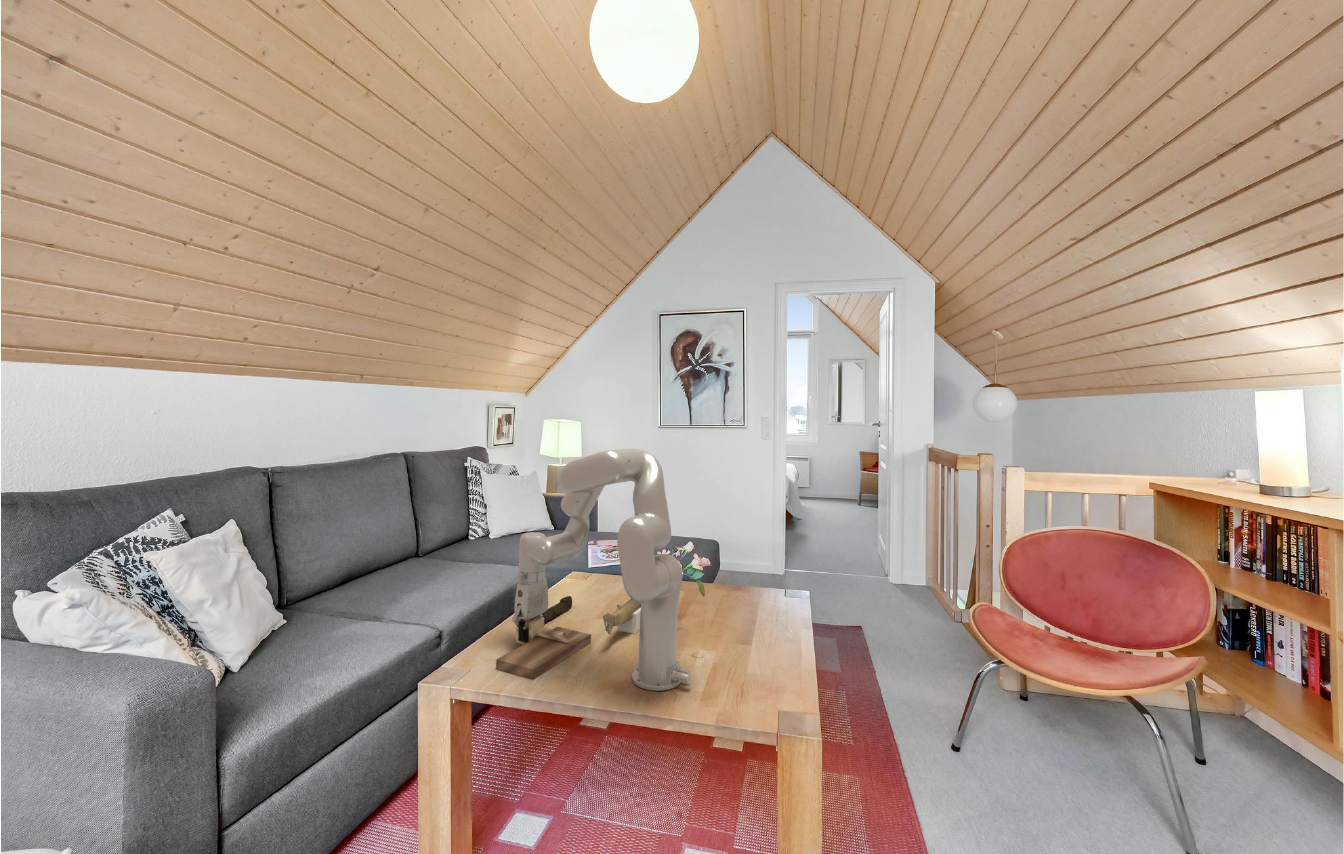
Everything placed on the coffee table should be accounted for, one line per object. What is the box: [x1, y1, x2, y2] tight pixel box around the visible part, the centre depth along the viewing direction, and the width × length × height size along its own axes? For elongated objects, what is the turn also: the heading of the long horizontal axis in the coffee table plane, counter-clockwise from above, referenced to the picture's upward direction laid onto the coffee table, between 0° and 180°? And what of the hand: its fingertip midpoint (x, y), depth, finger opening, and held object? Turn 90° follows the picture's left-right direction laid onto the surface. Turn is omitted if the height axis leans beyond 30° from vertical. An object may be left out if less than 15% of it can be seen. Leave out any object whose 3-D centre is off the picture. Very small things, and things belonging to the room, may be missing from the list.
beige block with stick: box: [515, 616, 572, 646], centre depth 157 cm, size 17×5×7 cm, turn 65°
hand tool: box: [543, 595, 573, 625], centre depth 181 cm, size 19×4×5 cm, turn 155°
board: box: [495, 626, 592, 680], centre depth 151 cm, size 12×26×3 cm, turn 155°
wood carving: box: [602, 598, 641, 635], centre depth 170 cm, size 9×35×11 cm, turn 161°
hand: (529, 637), depth 159 cm, fingers closed on beige block with stick, 5 cm apart
